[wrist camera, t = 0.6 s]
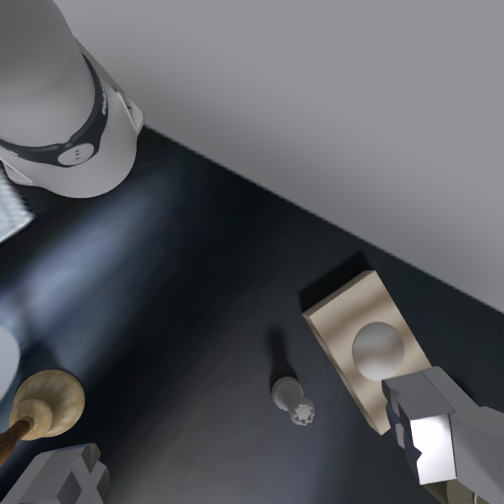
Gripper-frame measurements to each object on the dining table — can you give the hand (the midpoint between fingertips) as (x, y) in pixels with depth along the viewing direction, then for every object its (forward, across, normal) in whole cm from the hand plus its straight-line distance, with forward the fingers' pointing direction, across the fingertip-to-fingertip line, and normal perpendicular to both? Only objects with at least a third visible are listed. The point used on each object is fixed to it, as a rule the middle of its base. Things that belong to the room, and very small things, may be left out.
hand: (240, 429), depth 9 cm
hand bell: (+29, +30, +15) cm, 44 cm away
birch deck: (+38, -13, +23) cm, 46 cm away
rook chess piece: (+34, +1, +25) cm, 42 cm away
